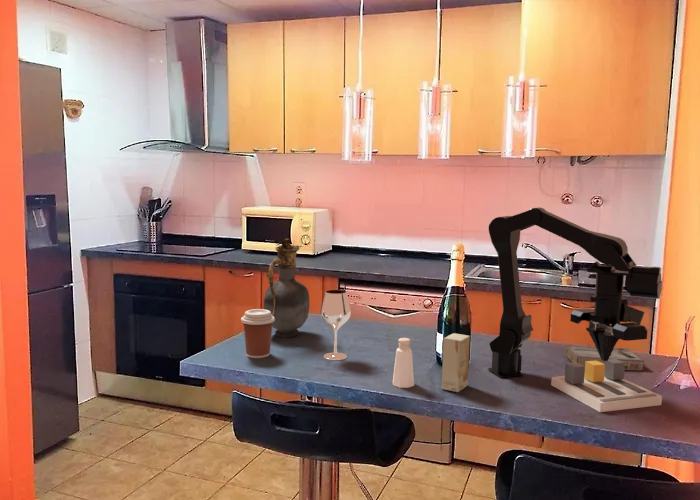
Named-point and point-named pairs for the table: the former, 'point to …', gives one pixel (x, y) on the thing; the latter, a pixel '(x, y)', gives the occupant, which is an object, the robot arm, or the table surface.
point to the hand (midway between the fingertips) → (604, 360)
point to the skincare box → (455, 362)
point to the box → (591, 354)
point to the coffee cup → (257, 332)
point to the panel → (605, 388)
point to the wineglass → (335, 316)
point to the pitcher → (286, 293)
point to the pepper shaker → (403, 365)
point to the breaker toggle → (594, 371)
